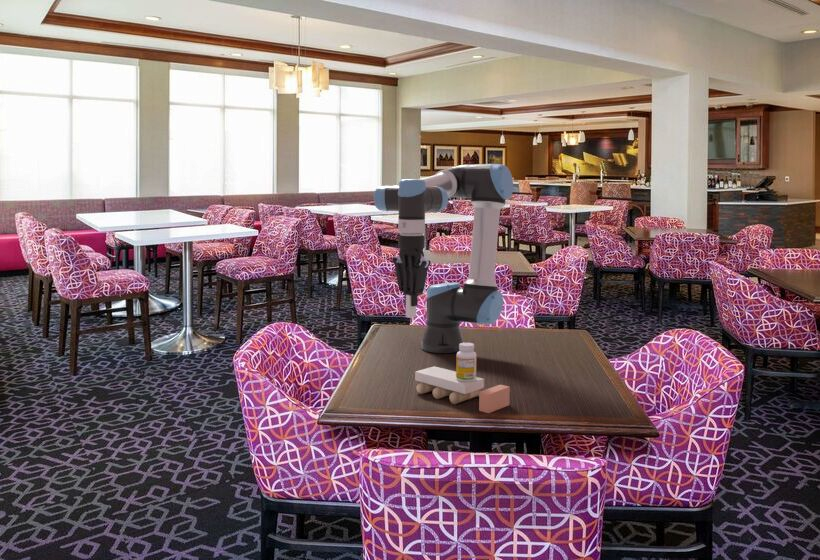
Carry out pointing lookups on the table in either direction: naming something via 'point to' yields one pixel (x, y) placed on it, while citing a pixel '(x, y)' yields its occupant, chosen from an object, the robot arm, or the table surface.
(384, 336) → the table surface
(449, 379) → the slab
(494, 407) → the block
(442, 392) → the roller bed
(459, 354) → the supplement bottle
